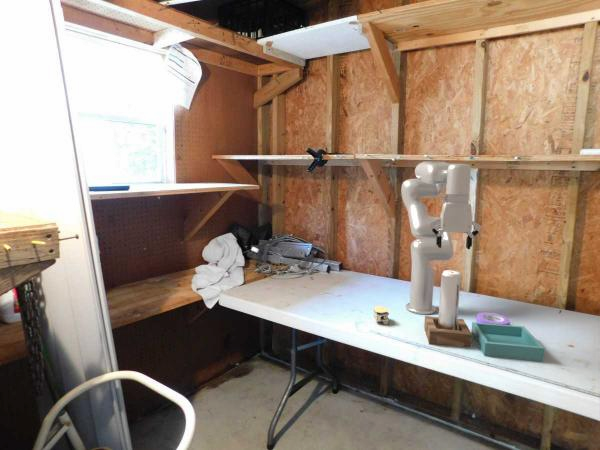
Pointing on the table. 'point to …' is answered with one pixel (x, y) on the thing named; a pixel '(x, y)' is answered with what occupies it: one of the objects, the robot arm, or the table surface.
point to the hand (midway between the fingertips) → (453, 247)
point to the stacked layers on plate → (381, 314)
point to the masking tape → (492, 319)
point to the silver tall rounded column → (449, 300)
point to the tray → (507, 341)
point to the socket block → (447, 333)
